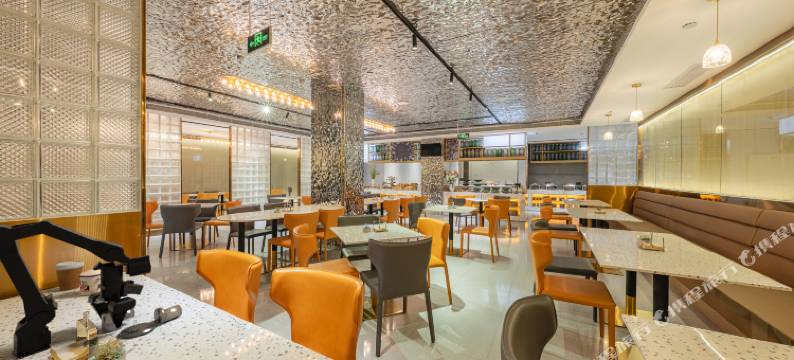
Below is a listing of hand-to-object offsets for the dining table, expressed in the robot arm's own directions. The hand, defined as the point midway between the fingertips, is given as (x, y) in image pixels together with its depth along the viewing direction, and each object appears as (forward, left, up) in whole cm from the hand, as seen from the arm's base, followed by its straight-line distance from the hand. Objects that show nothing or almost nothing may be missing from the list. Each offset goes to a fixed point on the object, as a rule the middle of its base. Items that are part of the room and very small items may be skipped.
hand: (111, 324), depth 104 cm
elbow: (+2, 0, -1) cm, 2 cm away
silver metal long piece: (+7, -10, -1) cm, 12 cm away
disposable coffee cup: (+10, +66, -2) cm, 67 cm away
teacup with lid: (+13, +49, -2) cm, 51 cm away
